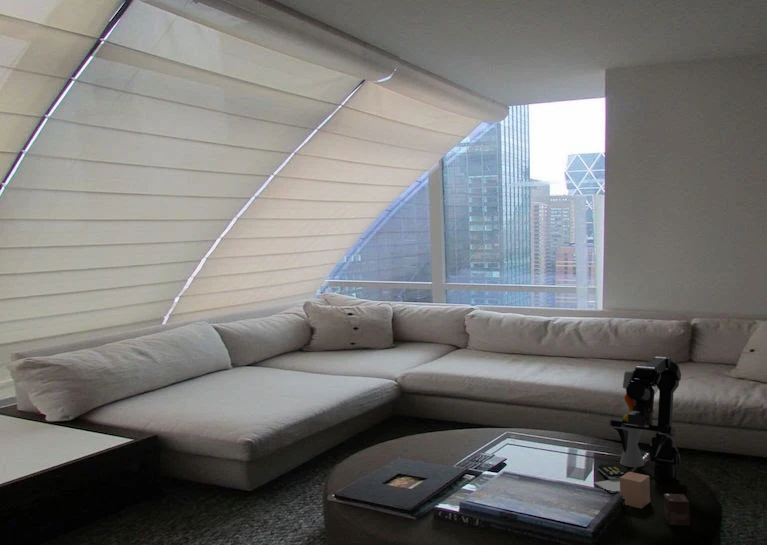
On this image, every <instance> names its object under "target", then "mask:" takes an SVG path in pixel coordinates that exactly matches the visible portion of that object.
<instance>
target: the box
mask: <svg viewBox="0 0 767 545" xmlns="http://www.w3.org/2000/svg"><path fill="white" fill-rule="evenodd" d="M663 506H664V507H663V508H664V511H663V512H664V518H665V521H666V522H667V524H668V525H669V526H690V525H691V524H690V523H691V521H690V520H691V518H690V517H691V516H690V514H691V512H690V500H689V499H688V498H687V496H686V495H685V494H684V493H664V494H663Z"/></svg>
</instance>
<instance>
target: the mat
mask: <svg viewBox="0 0 767 545" xmlns="http://www.w3.org/2000/svg"><path fill="white" fill-rule="evenodd" d="M593 483H594V485H595V486H598V488H600V489H602V488H603V490H604V489H606V490H611V491H619V492H620V479H618V480H610V479H607V480H601V481H595V482H593Z"/></svg>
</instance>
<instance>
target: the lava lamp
mask: <svg viewBox="0 0 767 545" xmlns="http://www.w3.org/2000/svg"><path fill="white" fill-rule="evenodd" d="M632 373H633V370H626V371H625V372H624V375H623V382H622V388H623V389H625V390H626V388H627V386H628V385H629V384H630V383H629V381H630V379H631V376H632ZM624 401H625V404H626V405H627V407H628V411H629V412H631V411H632V410H633V406H634V404H635V401H634V400H633V399H631V398H629V397H628V395H627V393H625V395H624ZM629 412H628V413H629ZM628 413H626V414H624V415H623V418H622V419H624V420H626V421H627V422H628ZM636 427H638V426H636ZM626 430H627V431H628V441H627V450H626V452H624V450H623V449H622V450H623V451H622V454H621V458H620V461H619V463H620V465H622V466H625V467H628V468H629V467H630V468H641V467H643V466H645V462H644V459H643V457H642V453H641V449H640V447H639V440H640V438H641V434H642V431H643V430H641V429H634V428H626Z"/></svg>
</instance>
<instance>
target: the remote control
mask: <svg viewBox="0 0 767 545" xmlns="http://www.w3.org/2000/svg"><path fill="white" fill-rule="evenodd" d="M597 470H598V471H599V472H600V473H601V474H602V475H603V476H605V477H606V478H607V480H618V479H620V477H621V476H623V475H624V474H626V473H625V472H624V471H622V470H621V469H619V468H618V467H617V466H616V465H614V464H611V463H609V464H599V465H598V466H597Z"/></svg>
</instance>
